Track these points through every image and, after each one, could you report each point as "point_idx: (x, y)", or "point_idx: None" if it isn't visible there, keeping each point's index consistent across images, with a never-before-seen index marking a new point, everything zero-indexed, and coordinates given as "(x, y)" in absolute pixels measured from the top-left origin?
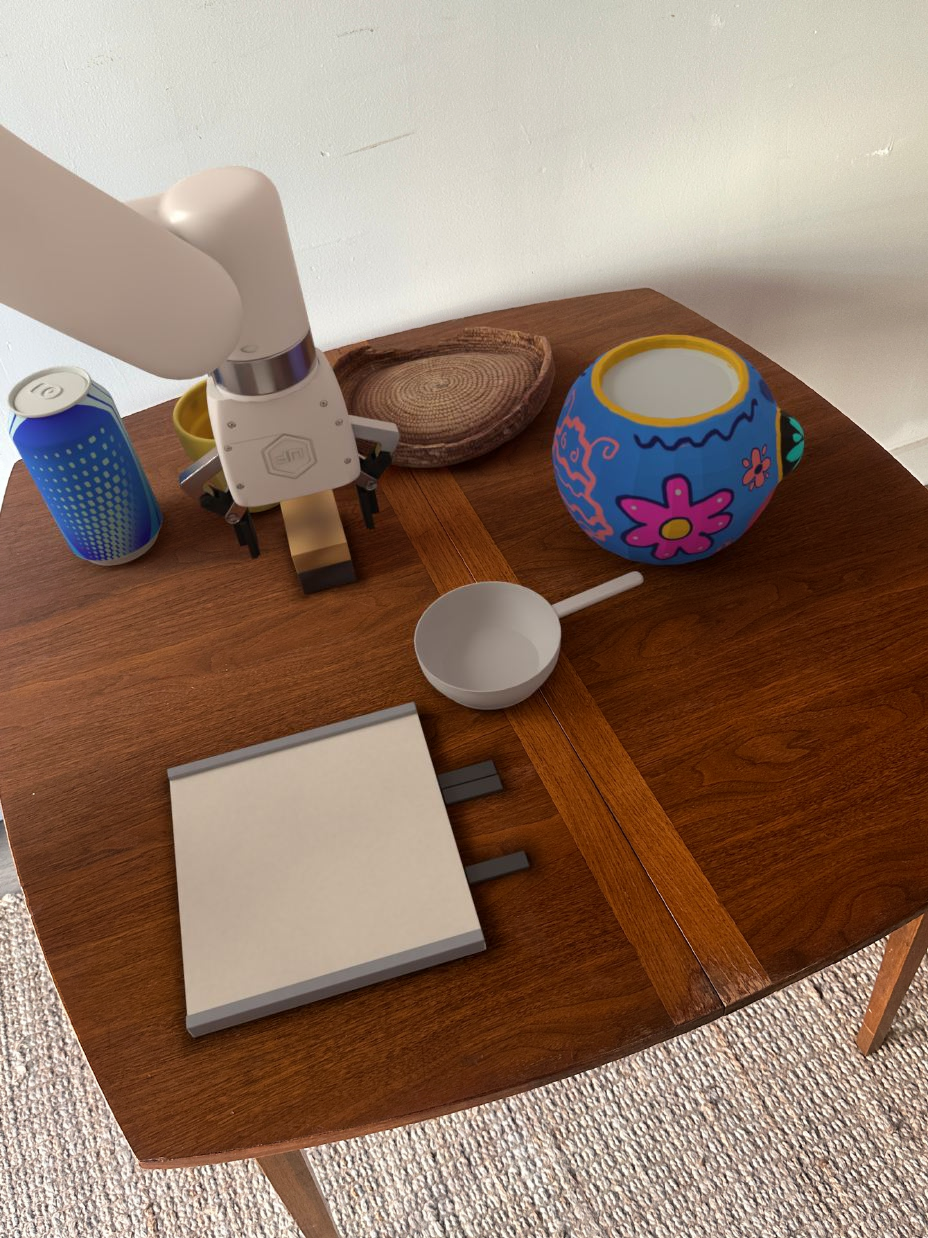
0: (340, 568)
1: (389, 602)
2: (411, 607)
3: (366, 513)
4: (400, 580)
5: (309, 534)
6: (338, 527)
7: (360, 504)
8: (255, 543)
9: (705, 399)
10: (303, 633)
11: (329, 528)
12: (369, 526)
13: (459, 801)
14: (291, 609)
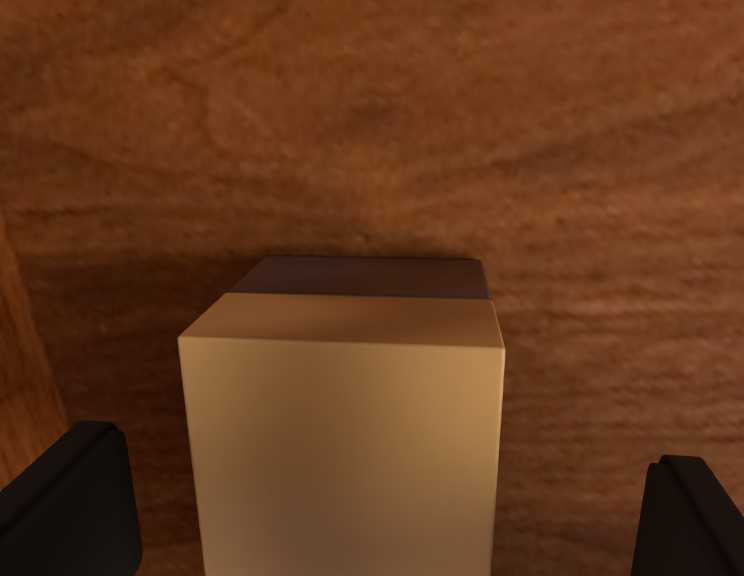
0: (293, 282)
1: (152, 88)
2: (67, 25)
3: (38, 483)
4: (101, 196)
5: (373, 470)
6: (211, 457)
7: (61, 553)
8: (691, 519)
9: None
10: (533, 32)
11: (259, 469)
12: (91, 430)
13: None
14: (550, 198)
